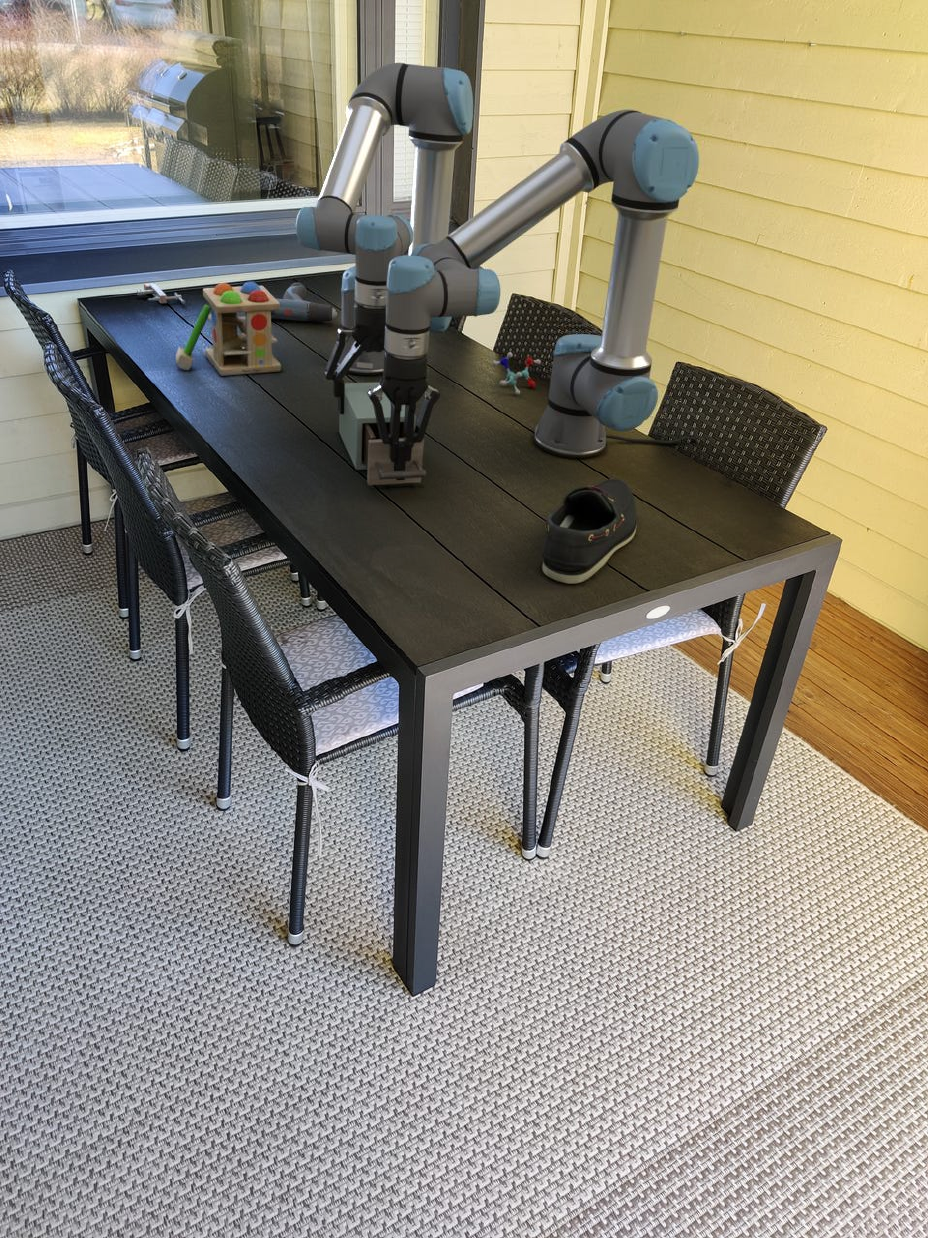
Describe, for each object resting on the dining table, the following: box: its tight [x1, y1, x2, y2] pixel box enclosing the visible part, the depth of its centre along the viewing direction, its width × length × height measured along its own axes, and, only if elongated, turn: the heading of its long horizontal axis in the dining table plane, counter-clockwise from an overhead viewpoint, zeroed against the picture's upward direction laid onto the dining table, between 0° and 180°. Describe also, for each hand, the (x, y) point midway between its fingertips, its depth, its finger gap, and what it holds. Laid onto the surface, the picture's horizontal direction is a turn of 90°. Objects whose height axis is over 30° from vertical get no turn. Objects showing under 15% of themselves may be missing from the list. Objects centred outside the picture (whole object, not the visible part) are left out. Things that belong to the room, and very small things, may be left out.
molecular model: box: [491, 351, 542, 396], centre depth 231 cm, size 12×10×10 cm
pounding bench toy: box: [174, 281, 282, 377], centre depth 225 cm, size 23×14×18 cm, turn 116°
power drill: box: [271, 282, 338, 322], centre depth 265 cm, size 5×19×20 cm
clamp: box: [136, 283, 186, 305], centre depth 265 cm, size 15×2×10 cm
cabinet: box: [338, 382, 417, 471], centre depth 196 cm, size 18×11×11 cm, turn 17°
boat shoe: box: [541, 478, 638, 585], centre depth 172 cm, size 13×33×10 cm, turn 147°
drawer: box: [361, 422, 427, 486], centre depth 187 cm, size 22×10×9 cm, turn 17°
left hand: (370, 410), depth 200 cm, fingers closed on cabinet, 11 cm apart
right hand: (399, 476), depth 181 cm, fingers closed
